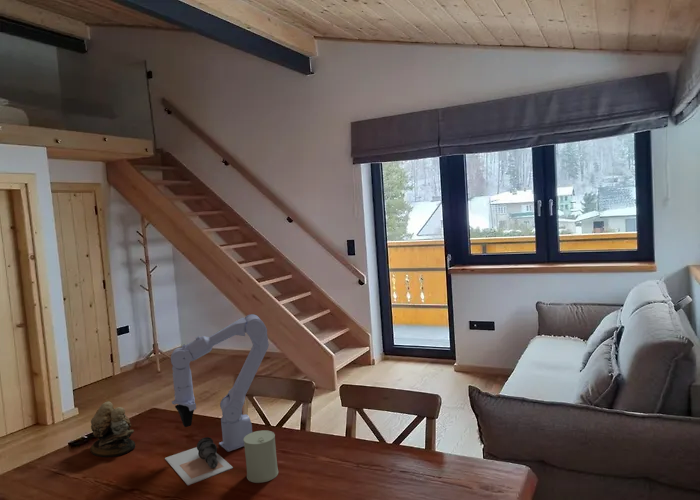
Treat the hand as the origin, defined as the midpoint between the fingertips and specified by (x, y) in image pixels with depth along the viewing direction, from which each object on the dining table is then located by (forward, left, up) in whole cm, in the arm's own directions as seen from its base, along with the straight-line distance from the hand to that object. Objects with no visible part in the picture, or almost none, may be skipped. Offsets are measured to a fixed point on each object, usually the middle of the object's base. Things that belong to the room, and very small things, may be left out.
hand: (187, 425), depth 168 cm
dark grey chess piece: (-3, +6, -5) cm, 8 cm away
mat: (+1, +8, -10) cm, 13 cm away
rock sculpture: (+19, -24, -10) cm, 32 cm away
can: (-11, +29, -10) cm, 33 cm away
